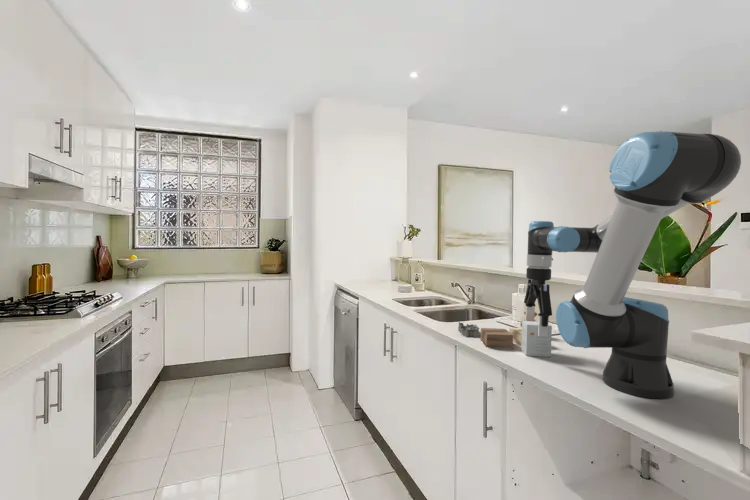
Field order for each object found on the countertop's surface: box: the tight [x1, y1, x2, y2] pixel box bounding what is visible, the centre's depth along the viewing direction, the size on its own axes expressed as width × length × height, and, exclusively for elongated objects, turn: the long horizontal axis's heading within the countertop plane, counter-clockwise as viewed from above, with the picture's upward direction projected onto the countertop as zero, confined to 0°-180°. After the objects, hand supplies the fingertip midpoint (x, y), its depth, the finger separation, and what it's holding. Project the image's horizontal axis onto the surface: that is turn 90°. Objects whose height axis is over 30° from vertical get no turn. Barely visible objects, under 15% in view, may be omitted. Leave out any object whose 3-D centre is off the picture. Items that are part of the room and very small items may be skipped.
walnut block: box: [480, 327, 514, 350], centre depth 131 cm, size 9×9×5 cm
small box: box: [520, 320, 553, 358], centre depth 121 cm, size 8×6×10 cm
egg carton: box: [457, 320, 481, 337], centre depth 146 cm, size 11×8×4 cm
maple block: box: [508, 327, 522, 347], centre depth 133 cm, size 9×9×5 cm
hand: (535, 330), depth 121 cm, fingers open, 13 cm apart
